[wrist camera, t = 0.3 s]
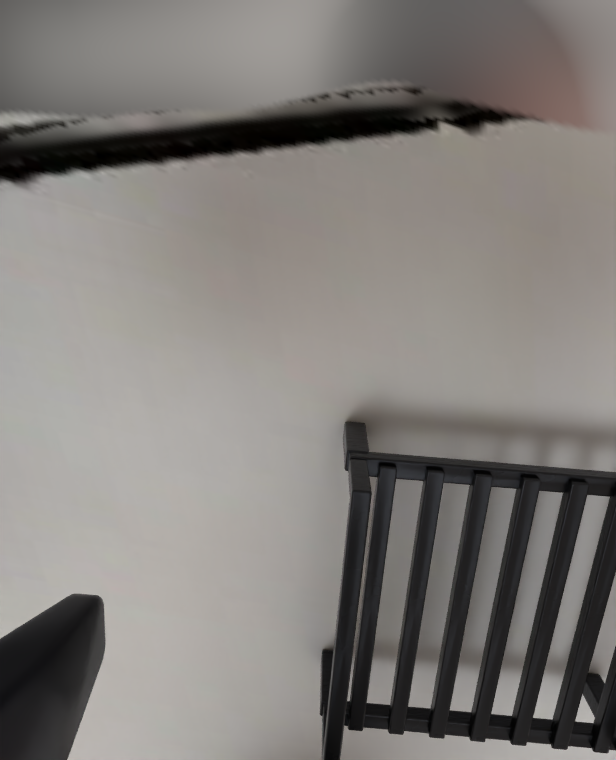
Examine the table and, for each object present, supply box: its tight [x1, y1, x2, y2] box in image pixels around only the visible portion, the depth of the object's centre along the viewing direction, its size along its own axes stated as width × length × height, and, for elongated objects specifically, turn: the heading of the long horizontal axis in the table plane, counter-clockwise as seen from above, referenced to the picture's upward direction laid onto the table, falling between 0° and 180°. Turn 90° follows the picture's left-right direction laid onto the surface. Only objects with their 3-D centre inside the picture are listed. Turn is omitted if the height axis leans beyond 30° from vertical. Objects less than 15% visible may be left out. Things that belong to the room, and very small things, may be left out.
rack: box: [320, 422, 616, 760], centre depth 21 cm, size 12×12×6 cm
